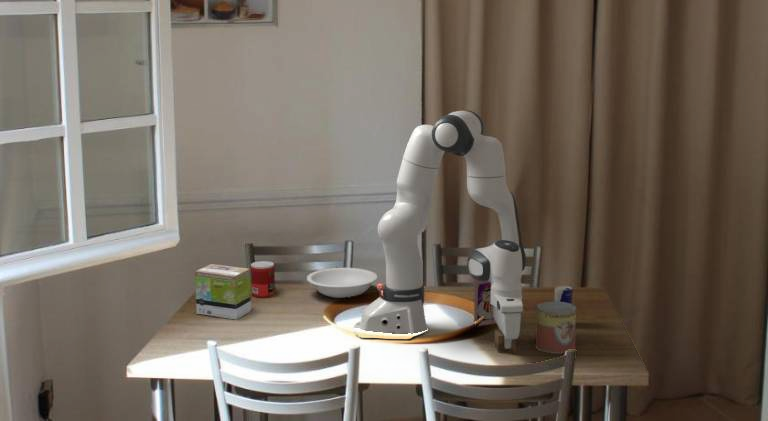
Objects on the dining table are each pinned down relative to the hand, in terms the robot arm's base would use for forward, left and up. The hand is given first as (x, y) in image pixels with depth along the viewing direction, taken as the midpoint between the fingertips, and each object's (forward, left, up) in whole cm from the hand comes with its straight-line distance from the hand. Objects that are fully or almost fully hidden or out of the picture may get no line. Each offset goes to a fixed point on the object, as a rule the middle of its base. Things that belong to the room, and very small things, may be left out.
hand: (505, 344), depth 296 cm
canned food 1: (-71, +62, -2) cm, 94 cm away
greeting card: (-1, +26, -2) cm, 26 cm away
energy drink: (+22, +20, -2) cm, 30 cm away
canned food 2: (+15, +1, -2) cm, 15 cm away
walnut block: (0, 0, -2) cm, 2 cm away
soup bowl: (-44, +59, -2) cm, 74 cm away
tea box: (-83, +43, -2) cm, 93 cm away
